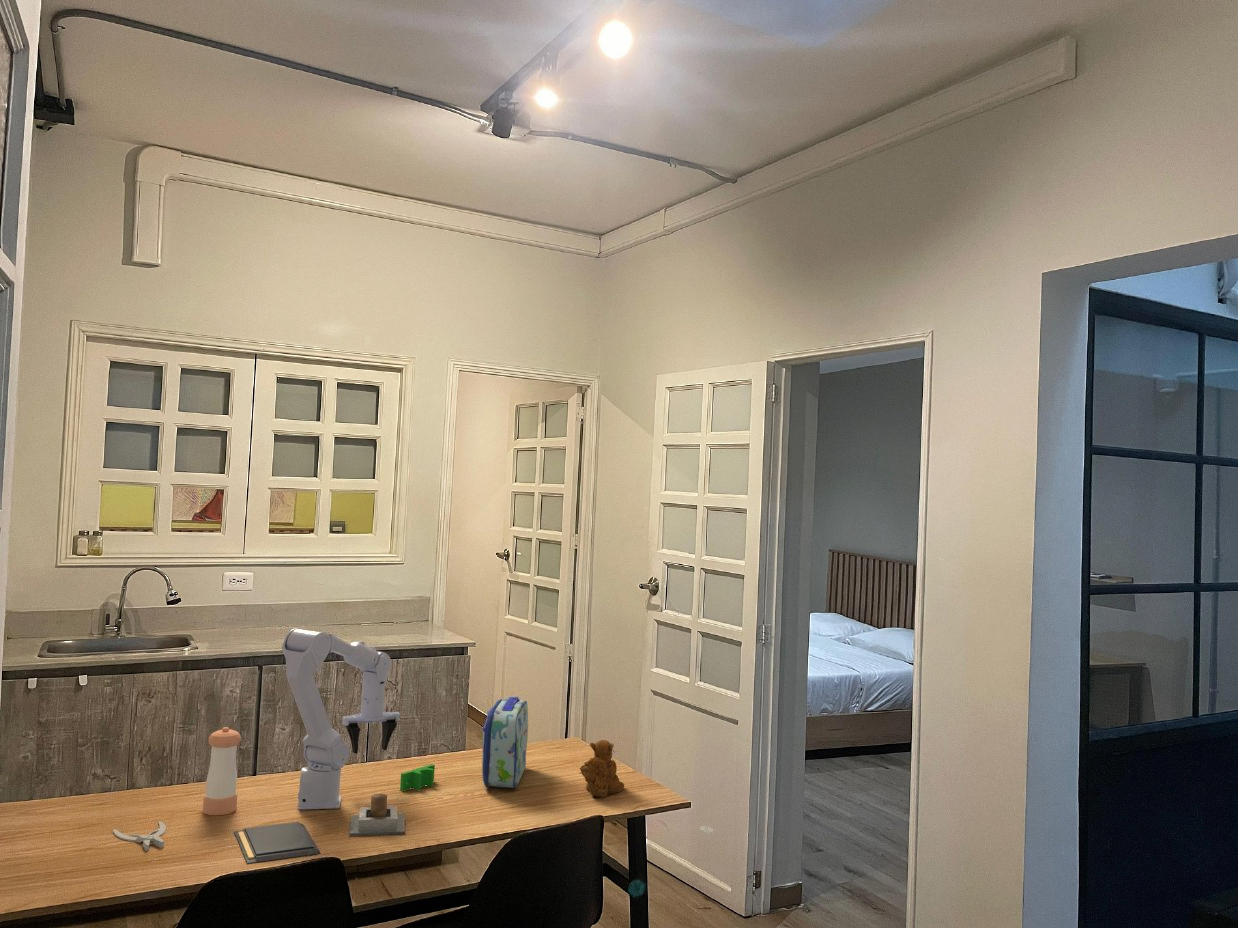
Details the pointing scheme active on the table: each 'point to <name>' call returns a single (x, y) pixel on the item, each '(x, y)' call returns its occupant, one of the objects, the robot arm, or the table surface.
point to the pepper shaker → (222, 773)
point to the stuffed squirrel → (601, 771)
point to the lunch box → (505, 743)
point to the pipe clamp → (417, 778)
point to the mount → (377, 823)
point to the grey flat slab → (275, 842)
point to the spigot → (378, 805)
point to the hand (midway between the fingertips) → (369, 750)
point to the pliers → (145, 837)
